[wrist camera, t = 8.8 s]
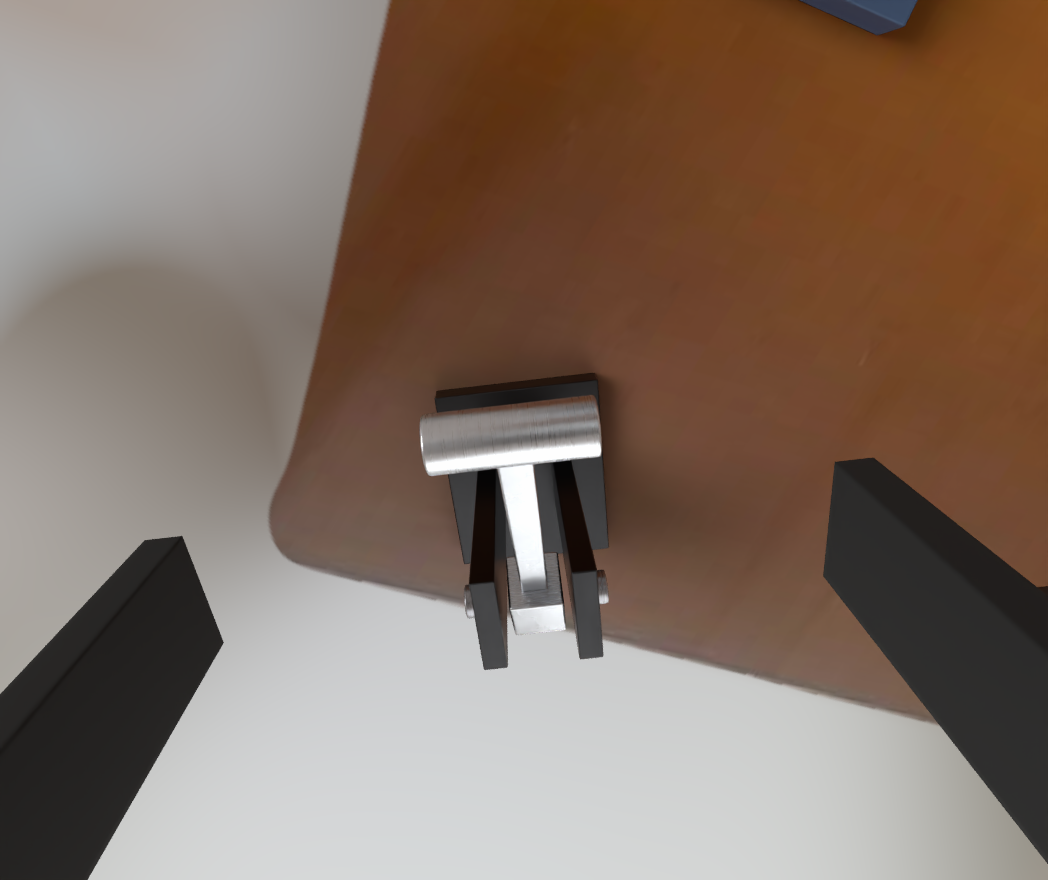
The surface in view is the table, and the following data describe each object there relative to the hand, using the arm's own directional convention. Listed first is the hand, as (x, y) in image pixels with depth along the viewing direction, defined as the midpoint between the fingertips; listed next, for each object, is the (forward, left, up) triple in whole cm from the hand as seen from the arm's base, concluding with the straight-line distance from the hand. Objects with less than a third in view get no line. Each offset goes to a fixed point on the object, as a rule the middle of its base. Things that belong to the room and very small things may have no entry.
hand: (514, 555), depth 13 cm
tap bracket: (+9, -2, -23) cm, 25 cm away
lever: (+4, -1, -10) cm, 11 cm away
